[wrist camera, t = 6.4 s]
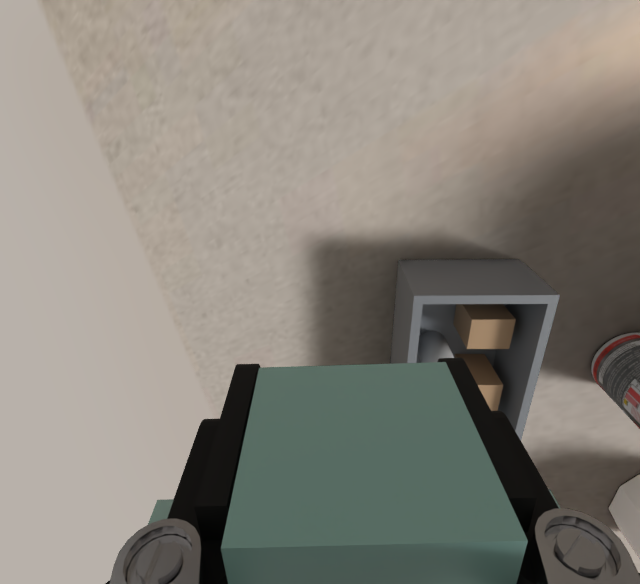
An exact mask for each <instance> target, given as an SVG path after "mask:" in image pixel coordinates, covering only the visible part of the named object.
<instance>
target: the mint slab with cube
mask: <svg viewBox="0 0 640 584" xmlns="http://www.w3.org/2000/svg"><path fill="white" fill-rule="evenodd" d="M548 490H549V492H550V493H551V495H552V497H553V499H554V500H555V502H556V504H557V506H558V507H559V509H561V508H560V506H559V504H558V503H557V501H556V499H555V497H554V496H553V494H552V492H551V490H550V489H548ZM173 500H174V499H173ZM173 500H157V503H156V505H155V508H154V511H153V513H152V516H151V518H150V521H149V523H148V525H149V524H150V523H153V522H156V521H159V520H162V519H167V517H168V515H169V512H170V509H171V506H172V503H173ZM527 542H528V540H527V538H526V536H525V533H524V531H523V529H522V527H521V525H520V523H519V520H518V518H517V516H516V514H515V512H514V509H513V507H512V505H511V503H510V501H509V499H508V496H507V494H506V492H505V490H504V488H503V486H502V483H501V481H500V479H499V477H498V475H497V473H496V470H495V468H494V466H493V464H492V462H491V459H490V457H489V455H488V453H487V451H486V449H485V446H484V444H483V442H482V440H481V438H480V436H479V433H478V431H477V429H476V427H475V425H474V423H473V420H472V418H471V416H470V414H469V412H468V410H467V407H466V405H465V403H464V401H463V399H462V396H461V394H460V392H459V390H458V388H457V386H456V383H455V381H454V379H453V377H452V375H451V373H450V370H449V368H448V366H447V364H446V362H430V363H397V364H365V365H332V366H300V367H267V368H259V371H258V375H257V380H256V385H255V390H254V394H253V399H252V404H251V408H250V413H249V418H248V423H247V427H246V432H245V437H244V441H243V446H242V451H241V455H240V460H239V465H238V470H237V474H236V479H235V484H234V488H233V493H232V498H231V503H230V507H229V512H228V517H227V521H226V526H225V531H224V536H223V540H222V545H221V552H222V557H223V562H224V566H225V571H226V576H227V581H228V584H516V583H517V580H518V576H519V572H520V569H521V565H522V561H523V557H524V554H525V550H526V546H527Z"/></svg>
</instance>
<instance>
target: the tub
mask: <svg viewBox="0 0 640 584" xmlns="http://www.w3.org/2000/svg"><path fill="white" fill-rule="evenodd" d="M559 297H560V295H559V294H558V293H557V292H556V291H555V290H554V289H552V288H551V287H550V286H549V285H548V284H547V283H546V282H545V281H543V280H542V279H541V278H540V277H539V276H538V275H537V274H536V273H534V272H533V271H532V270H531V269H530V268H529V267H528V266H527V265H525V264H524V263H523V262H522V261H521V260H520V259H463V260H398V270H397V283H396V295H395V308H394V320H393V332H392V345H391V357H390V364H397V363H430V362H437V361H438V359H439V358H463V359H464V361H465V362H466V364H467V366H468V368H469V370H470V372H471V374H472V376H473V378H474V379H475V381H476V383H477V385H478V387H479V389H480V391H481V393H482V395H483V396H484V398H485V400H486V402H487V404H488V406H489V408H490V410H491V411H502V412H503V413H504V414H505V415H506V416H507V418H508V419H509V421H510V423H511V425H512V426H513V428H514V430H515V432H516V434H517V435H518V437H519V439H520V441H521V439H522V435H523V431H524V427H525V424H526V420H527V416H528V413H529V409H530V405H531V401H532V398H533V394H534V390H535V386H536V383H537V379H538V375H539V372H540V368H541V364H542V360H543V357H544V353H545V349H546V346H547V342H548V338H549V334H550V331H551V327H552V323H553V319H554V316H555V312H556V308H557V305H558V301H559Z"/></svg>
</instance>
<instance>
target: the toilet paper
mask: <svg viewBox="0 0 640 584" xmlns="http://www.w3.org/2000/svg"><path fill="white" fill-rule="evenodd" d="M609 510H610V512H611V514H612V516H613V518H614V520H615V522H616V524H617V526H618V528H619V529H620V531H621V532H622V534H623V535H624V537H625V538H626V540H627V541H628V543H629V544H630V546H631V547H632V549H633V550H634V552H635V553H636V555H637V556H638V558H639V559H640V474H639V475H637V476H636V477H634V478H633V479H631V480H629V481H628V482H626V483H625V484H623V485H621V486H620V487H619V489H618V491H617V493H616V495H615V497H614V499H613V501H612V503H611V504H610V506H609Z"/></svg>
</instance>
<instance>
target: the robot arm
mask: <svg viewBox="0 0 640 584" xmlns="http://www.w3.org/2000/svg"><path fill="white" fill-rule="evenodd" d="M437 362H446V364H447V366H448V368H449V370H450V373H451V375H452V377H453V379H454V381H455V383H456V386H457V388H458V390H459V392H460V394H461V396H462V399H463V401H464V403H465V405H466V407H467V410H468V412H469V414H470V416H471V418H472V420H473V423H474V425H475V427H476V429H477V431H478V433H479V436H480V438H481V440H482V442H483V444H484V446H485V449H486V451H487V453H488V455H489V457H490V459H491V462H492V464H493V466H494V468H495V470H496V473H497V475H498V477H499V479H500V481H501V483H502V486H503V488H504V490H505V492H506V494H507V496H508V499H509V501H510V503H511V505H512V507H513V509H514V512H515V514H516V516H517V518H518V520H519V523H520V525H521V527H522V529H523V531H524V533H525V536H526V538H527V540H528V542H527V546H526V550H525V554H524V557H523V561H522V565H521V569H520V572H519V576H518V580H517V583H516V584H640V573H638V571H637V569H636V567H635V565H634V563H633V561H632V558H631V556H630V554H629V552H628V551H627V549H626V547H625V546H624V544H623V543H622V541H621V540H620V539H619V537H618V536H617V535H616V534H615V533H614V532H613V531H612V530H611V529H610V528H609V527H607V526H606V525H604V524H603V523H601V522H600V521H599V520H597V519H596V518H594V517H591V516H589V515H587V514H585V513H583V512H580V511H576V510H572V509H568V508H567V509H559V507H558V506H557V504H556V502H555V500H554V499H553V497H552V495H551V493H550V492H549V490H548V488H547V486H546V484H545V483H544V481H543V479H542V477H541V476H540V474H539V472H538V470H537V469H536V467H535V465H534V463H533V462H532V460H531V458H530V456H529V455H528V453H527V451H526V449H525V448H524V446H523V444H522V442H521V441H520V439H519V437H518V435H517V434H516V432H515V430H514V428H513V426H512V425H511V423H510V421H509V419H508V418H507V416H506V415H505V414H504V413H503V412H502V411H491V410H490V408H489V406H488V404H487V402H486V400H485V398H484V396H483V395H482V393H481V391H480V389H479V387H478V385H477V383H476V381H475V379H474V378H473V376H472V374H471V372H470V370H469V368H468V366H467V364H466V362H465V361H464V359H463V358H439V359H438V361H437ZM259 368H260V365H259V364H237V365H236V367H235V370H234V374H233V377H232V380H231V384H230V387H229V391H228V394H227V397H226V401H225V404H224V407H223V411H222V414H221V417H220V419H204V420H203V421H202V422H201V424H200V426H199V429H198V432H197V435H196V438H195V440H194V443H193V446H192V449H191V452H190V455H189V458H188V460H187V463H186V466H185V469H184V472H183V475H182V477H181V480H180V483H179V486H178V489H177V492H176V495H175V498H174V500H173V503H172V506H171V509H170V512H169V515H168V517H167V519H162V520H159V521H156V522H153V523H150V524H149V525H147V526H145V527H144V528H142V529H140V530H139V531H137V532H136V533H135V534H134V535H133V536H132V537H131V538H130V539H128V541H127V542H126V543H125V545H124V546H123V547H122V549H121V550H120V552H119V554H118V556H117V559H116V562H115V564H114V567H113V571H112V576H111V579H110V581H108V582H107V583H106V584H228V581H227V576H226V571H225V566H224V562H223V557H222V552H221V545H222V540H223V536H224V531H225V526H226V521H227V517H228V512H229V507H230V503H231V498H232V493H233V488H234V484H235V479H236V474H237V470H238V465H239V460H240V455H241V451H242V446H243V441H244V437H245V432H246V427H247V423H248V418H249V413H250V408H251V404H252V399H253V394H254V390H255V385H256V380H257V375H258V371H259Z"/></svg>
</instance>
